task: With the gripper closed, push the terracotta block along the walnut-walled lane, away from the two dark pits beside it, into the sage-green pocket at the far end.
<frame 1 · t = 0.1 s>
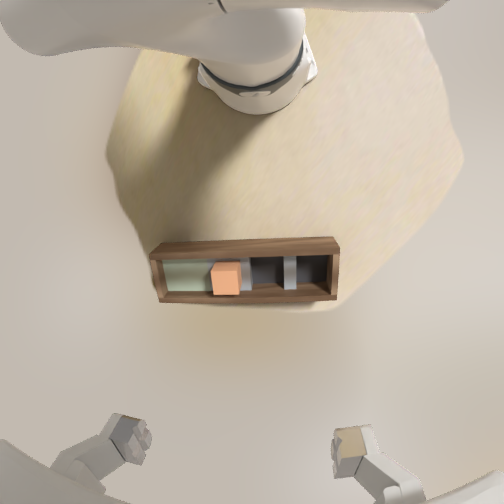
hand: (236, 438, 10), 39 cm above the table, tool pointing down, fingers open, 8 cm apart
block: (228, 272, 46), point 3 cm above the table, touching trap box
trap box: (245, 264, 49), on the table
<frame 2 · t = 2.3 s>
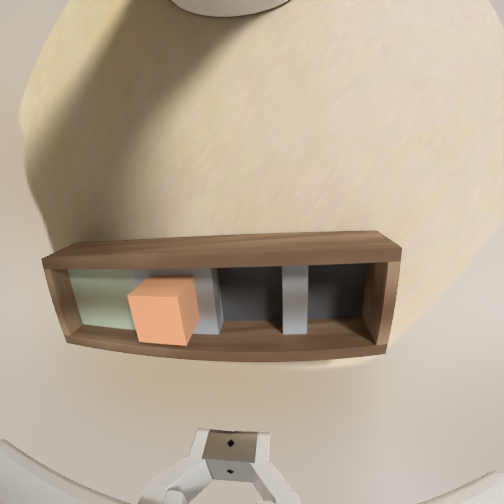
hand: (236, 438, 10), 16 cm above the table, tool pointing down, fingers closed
block: (174, 298, 23), point 3 cm above the table, touching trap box
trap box: (210, 284, 26), on the table
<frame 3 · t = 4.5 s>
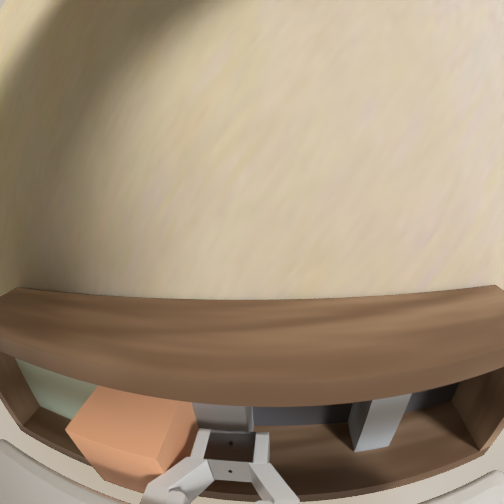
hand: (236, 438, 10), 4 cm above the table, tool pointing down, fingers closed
block: (155, 409, 11), point 3 cm above the table, touching gripper, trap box
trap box: (232, 376, 14), on the table
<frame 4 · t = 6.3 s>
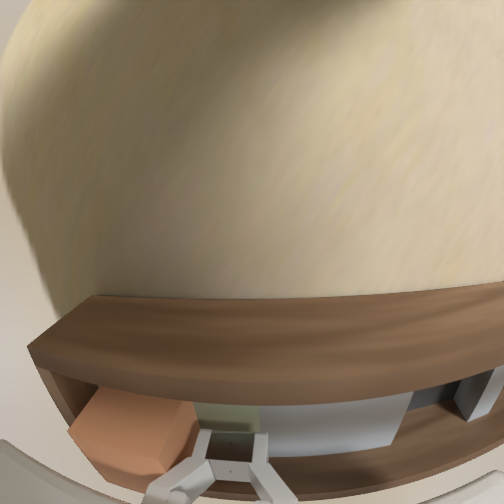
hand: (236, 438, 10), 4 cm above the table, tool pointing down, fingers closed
block: (157, 410, 11), point 3 cm above the table, touching gripper, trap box
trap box: (374, 369, 13), on the table
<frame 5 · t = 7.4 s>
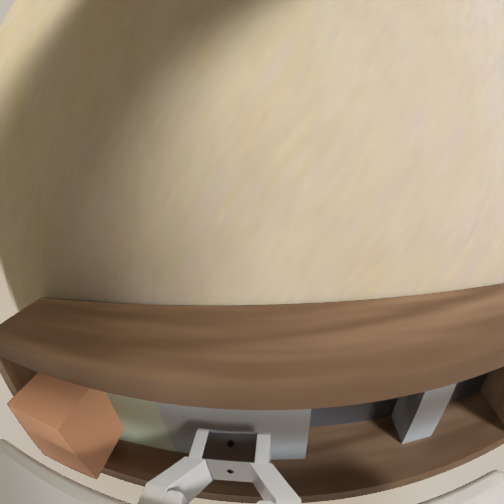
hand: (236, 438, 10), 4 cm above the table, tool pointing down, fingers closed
block: (84, 397, 12), point 3 cm above the table, touching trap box
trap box: (286, 379, 14), on the table
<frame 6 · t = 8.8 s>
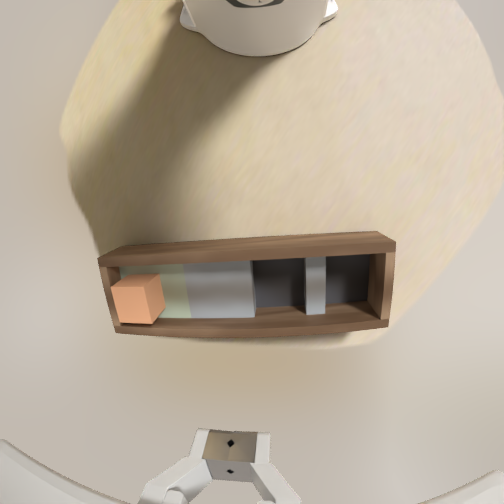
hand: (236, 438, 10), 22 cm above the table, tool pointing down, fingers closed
block: (146, 290, 30), point 3 cm above the table, touching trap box
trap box: (245, 277, 32), on the table
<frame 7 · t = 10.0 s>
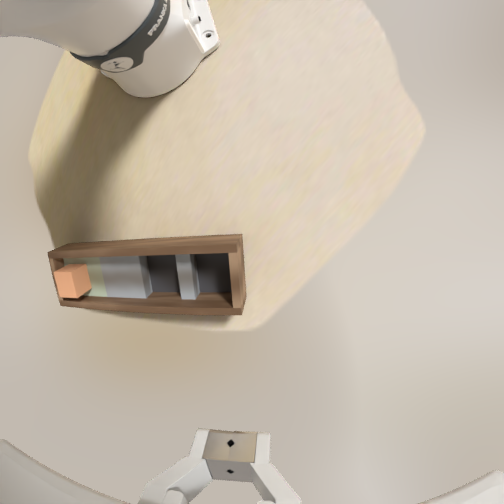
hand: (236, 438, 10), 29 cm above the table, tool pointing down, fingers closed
block: (79, 276, 38), point 3 cm above the table, touching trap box
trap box: (144, 268, 40), on the table
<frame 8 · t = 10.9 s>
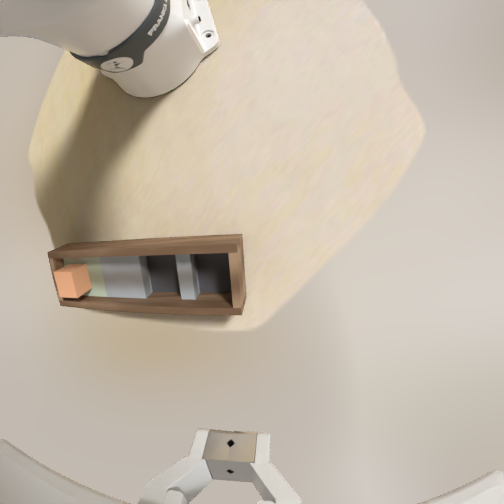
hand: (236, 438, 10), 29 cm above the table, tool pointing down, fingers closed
block: (79, 276, 38), point 3 cm above the table, touching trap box
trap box: (144, 268, 40), on the table
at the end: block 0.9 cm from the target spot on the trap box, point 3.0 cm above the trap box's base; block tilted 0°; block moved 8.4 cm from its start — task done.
